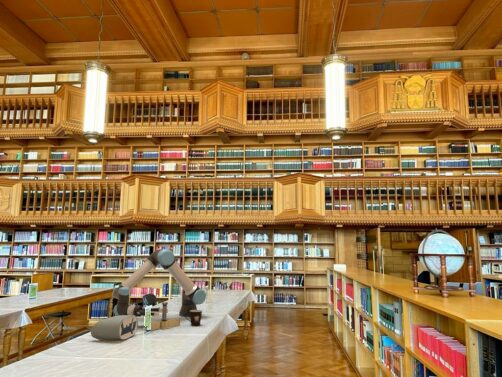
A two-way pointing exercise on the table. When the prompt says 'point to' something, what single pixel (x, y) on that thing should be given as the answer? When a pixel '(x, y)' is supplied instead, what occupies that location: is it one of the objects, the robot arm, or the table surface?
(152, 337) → the table surface
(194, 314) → the coffee mug
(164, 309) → the hinge pin
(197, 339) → the table surface
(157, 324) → the hinge leaf
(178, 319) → the hinge leaf
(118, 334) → the pencil case
